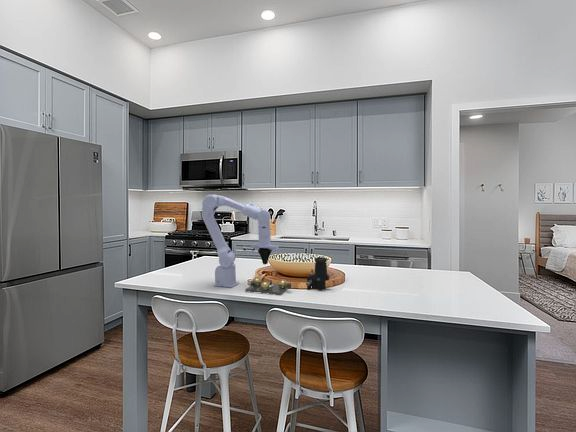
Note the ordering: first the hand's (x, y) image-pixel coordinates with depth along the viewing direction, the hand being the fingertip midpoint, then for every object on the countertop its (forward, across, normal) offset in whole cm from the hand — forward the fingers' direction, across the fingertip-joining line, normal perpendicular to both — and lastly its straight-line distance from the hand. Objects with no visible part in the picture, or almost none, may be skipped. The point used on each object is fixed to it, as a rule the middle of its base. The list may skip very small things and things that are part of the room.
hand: (265, 263), depth 157 cm
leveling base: (+10, +6, -6) cm, 13 cm away
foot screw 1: (+8, -1, -8) cm, 11 cm away
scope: (+10, +25, +6) cm, 28 cm away
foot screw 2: (+8, +13, -4) cm, 16 cm away
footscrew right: (+8, +6, -8) cm, 13 cm away
